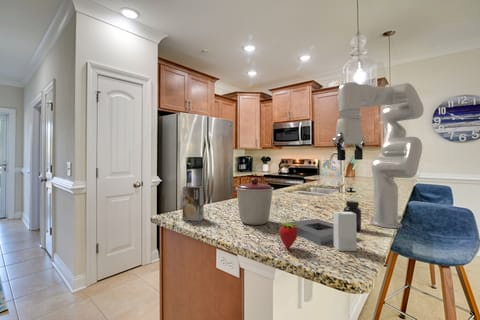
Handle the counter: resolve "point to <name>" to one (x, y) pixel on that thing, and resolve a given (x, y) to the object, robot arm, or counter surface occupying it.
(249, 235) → the counter surface
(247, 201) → the canister
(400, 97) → the robot arm
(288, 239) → the strawberry
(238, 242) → the counter surface
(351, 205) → the supplement bottle
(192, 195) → the coffee box
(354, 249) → the skincare box
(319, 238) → the housing
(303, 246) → the counter surface
